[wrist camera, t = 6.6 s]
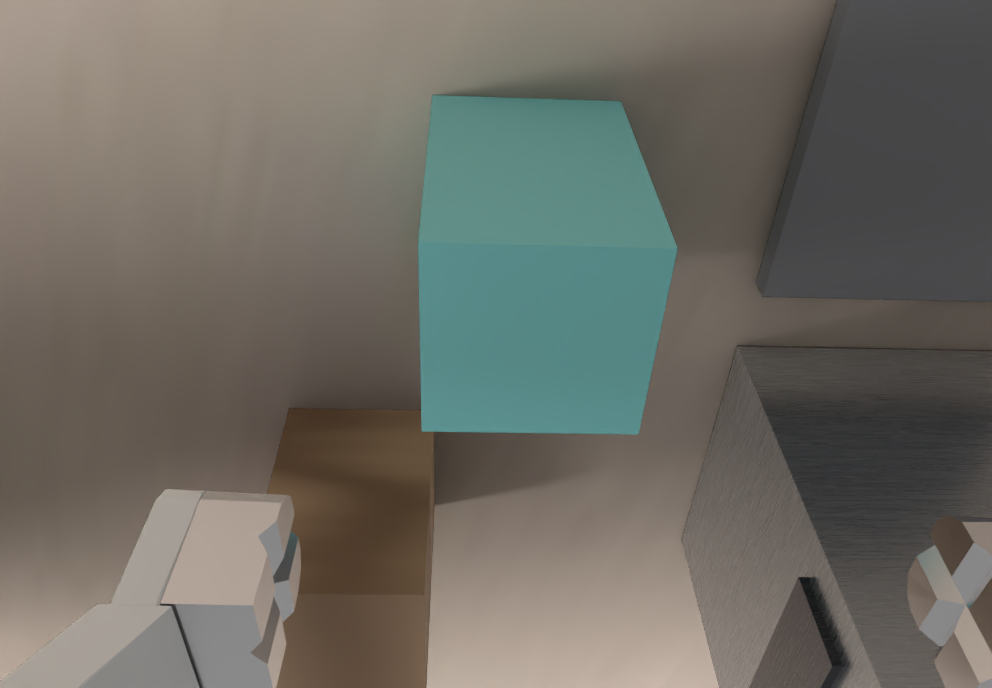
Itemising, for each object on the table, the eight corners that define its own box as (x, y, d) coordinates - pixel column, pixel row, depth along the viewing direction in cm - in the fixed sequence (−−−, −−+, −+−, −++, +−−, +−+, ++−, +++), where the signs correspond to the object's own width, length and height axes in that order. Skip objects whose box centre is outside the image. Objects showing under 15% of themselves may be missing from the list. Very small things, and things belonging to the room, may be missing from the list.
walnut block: (304, 503, 25) (264, 690, 20) (289, 407, 22) (240, 594, 18) (434, 505, 25) (426, 689, 20) (434, 409, 23) (424, 594, 18)
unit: (675, 539, 26) (763, 895, 18) (730, 346, 21) (881, 717, 13) (930, 541, 27) (1123, 889, 19) (1041, 352, 22) (1367, 715, 14)
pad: (755, 283, 20) (762, 297, 20) (842, -16, 16) (853, -8, 15) (1066, 289, 20) (1080, 303, 20) (1233, 0, 16) (1256, 8, 16)
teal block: (433, 256, 19) (421, 431, 15) (432, 94, 17) (418, 242, 12) (597, 261, 20) (638, 434, 15) (620, 101, 17) (677, 248, 12)
